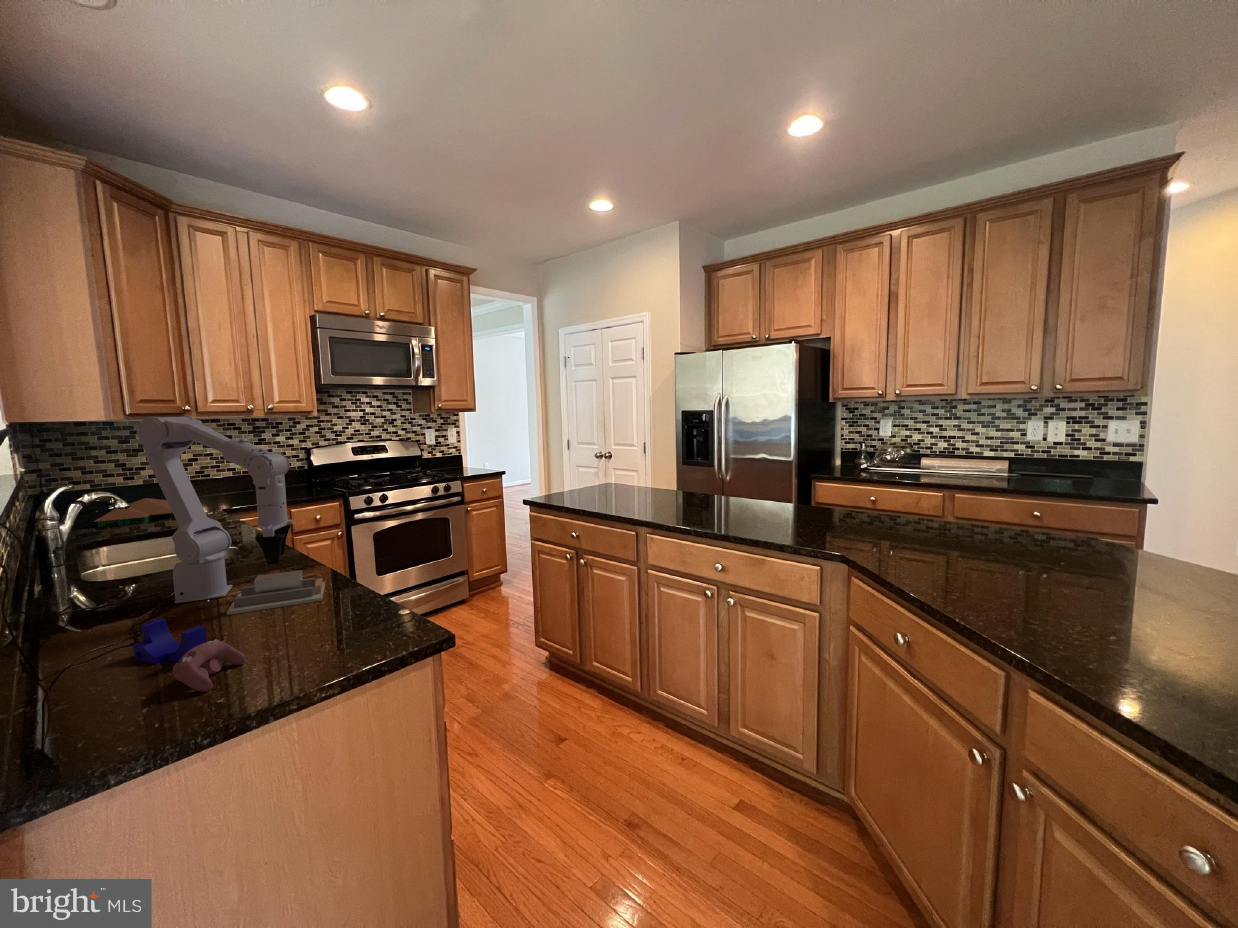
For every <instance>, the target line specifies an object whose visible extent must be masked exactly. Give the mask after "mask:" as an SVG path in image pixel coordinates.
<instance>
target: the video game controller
mask: <svg viewBox="0 0 1238 928" xmlns="http://www.w3.org/2000/svg"><path fill="white" fill-rule="evenodd" d="M222 662H225V663H228V664H230V665H234V666H235V665H236V666H242V665H244V664H245V662H246V656H245V654H244V653H243V652H242V651H240V650H238V649H236V648H234V647H233V646H231V645H229V644H228V643H226V642H224V641H222V640H219V639H214V640H210V641H207V642H206V643H203V644H200V645H198V646H196V647H194V648H192V649H191V650H189V651H188V652H187V653H186V654H185V655H184V656H183V657H182V658H181V659H180V660H179V661H178V662H175V664H174V665H173V668H172V675H173V677H174V678H175V679H176V680H177V681H179V682H181V683H183V684H184V685H185V686H188V687H189V688H190V689H192V690H195V691H198V692H206V693H207V692H209V691H211V690H212V688H213V682H212V681H211V680H212V679H210V678H209V677H210V676H209V675H214V674H216V673H218V672H219V671H221V670H222V667H223V666H222ZM203 664H204V665H203ZM202 665H203V666H204V667H201V666H202Z"/></svg>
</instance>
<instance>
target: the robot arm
mask: <svg viewBox="0 0 1238 928" xmlns="http://www.w3.org/2000/svg"><path fill="white" fill-rule="evenodd" d="M135 434H137V435H136V436H137V437H138V439H139V442H140V443H141V446H142V448H143V449H144V452H145V458H146V460H147V463H148V464H149V467H150V468H151V471H152V472H153V473H152V474H153V475H154V477H155V479H156V482H157V483H158V486H159V487H160V489H161V491H162V494H163V495H164V497H165V500H167V502H168V504H169V506H170V508H171V510H172V512H173V513H172V515H174V518H175V520H176V522H177V524H178V528H177V529H176V530H175V531H174V533H173V535H172V536H171V540H172V542H173V544H174V552H175V553H174V554H175V555H176V558H177V559H178V560H180V561H179V562H176V563H175V564H174V566H173V569H172V580H173V590H174V599H175V600H174V601H173V602H174V604H180V603H188V602H195V601H196V602H197V601H202V600H210V599H217V598H223V597H226V596H227V594H228V593H229V591H230V590H232V588H233V584H228V583H227V571H226V563H225V556H227V551H228V550H229V549H230V547H231V546H232V538H231V535H230V533H229V532H228V531H227V530H226V529H224V528H223V526H222V525H221V522H220V521H218V520H215V519H213V518H211V517H209V516H207V513H206V511H205V508H204V507H203V504H202V503H201V501H200V499H199V497H198V494H197V492H196V490H195V488H194V486H193V484H192V482H191V480H190V478H189V475H188V473H187V472H186V469H185V468H184V465H183V463H182V461H181V456H182V455H183V453H185V452H186V451H187V450H188V449H189V447H191V445H193V444H194V442H195V443H198V444H200V445H203V446H205V447H207V448H209V449H210V448H211V449H213V450H216V451H218V452H221V454H222V457H223V459H225V461H227V462H230V463H232V464H234V465H236V466H237V467H241V468H243V469H245V470H246V471H247V472H248V474H249V476H250V477H251V479H252V483H253V485H254V486H255V493H256V494H255V495H256V498H255V499H256V509H257V521H258V522H257V528H259V530H261V531H262V534H258V535H255V537H254V539H255V541H256V542H257V544H258V545H259V546H260V548H261V550H262V553H263V555H264V559H265V561H266V564H267V565H276V564H277V565H278V564H279V563H280V558H281V556H284V554H285V550H286V544H287V538H288V534H289V532H290V529H291V527H292V525H293V523H295V522H294V519H288V507H287V493H286V492H287V491H286V479H285V475H286V474H287V473H288V471H289V470H290V460H289V459H288V457H287V456H286V455H285V454H283V453H282V452H280V451H273V452H269V450H268V449H267V448H265V447H259V446H257V445H255V444H252V443H250V440H249V439H248V438H234V439H231V438H229V437H227V436H226V435H224V434H221V433H220V432H217V431H215V430H214V429H212V428H210V427H208V426H207V425H205V424H203V422H202V420H199V419H196V418H194V417H192V416H188V415H183V416H158V417H157V416H147V417H145V418H143V419H142V420H141V423H140V424H139V426H138V428H137V430H136V433H135Z"/></svg>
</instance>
